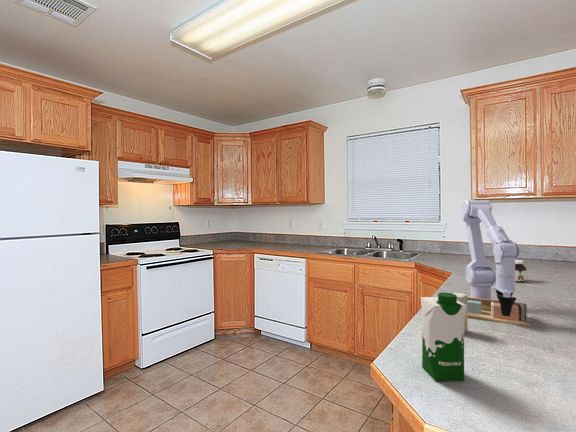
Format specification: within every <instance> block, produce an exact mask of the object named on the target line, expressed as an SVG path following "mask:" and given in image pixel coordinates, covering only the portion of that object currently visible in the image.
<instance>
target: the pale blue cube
mask: <svg viewBox="0 0 576 432" xmlns="http://www.w3.org/2000/svg"><path fill="white" fill-rule="evenodd" d="M467 310H468V313H473V314H480V315H481V301H474V300H467Z"/></svg>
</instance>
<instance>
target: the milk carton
mask: <svg viewBox="0 0 576 432" xmlns="http://www.w3.org/2000/svg"><path fill="white" fill-rule="evenodd" d="M420 302H421V303H420V304H421V312H422V313H421V314H422V320H421V321H422V322H421V324H422V327H421V328H422V329H421V331H422V332H421V334H422V337H421V338H422V342H421V343H422V345H421V346H422V349H421V350H422V351H421V352H422V355H421V359H422V360H421V363H422V364H421V367H422V369H424V371H425V372H426V373H427V374H428V376H430V377H431V378H432V379H433V381H435V382H461V381H463V382H465V333H464V320H465V314H466V308H467V305H465V304H463V303H461V302H459V301H458V300H457V296H456V295H455V294H451V292H439V293H437V296H424V297H422V296H420Z"/></svg>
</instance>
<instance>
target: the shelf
mask: <svg viewBox="0 0 576 432" xmlns="http://www.w3.org/2000/svg"><path fill="white" fill-rule="evenodd" d="M467 300H474V301H481V315H480V314H473V313H468V319H473V320H474V319H475V320H479V321H487V322H494V323H501V324H502V323H503V324H510V325H516V326H522V327H523V326H524V327H531V322H530V323H525V322H521V320H520V318H519V321H513V320H506V319H498V318H492V316H491V302H495V303H499V300H497V299H491V300H490V299H481V298H472V297H471V296H467ZM519 303H520V302H517V301H515V302H514V304H513V305H517V306H518V308H519ZM522 303H523V305H524V307H525V316H527V317H528V315H527V314H528V313H527V310H528V309H527V308H528V306H527V303H526V302H525V303H524V302H522Z"/></svg>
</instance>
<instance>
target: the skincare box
mask: <svg viewBox="0 0 576 432" xmlns="http://www.w3.org/2000/svg"><path fill="white" fill-rule="evenodd" d="M450 293H451V292H450ZM451 294H455V295H456V296H457V300H458V301H459V302H461V303H463V304H465V305H467V297H468V293H467V294H466V293H461V292H455V291H454V292H452V293H451ZM468 319H469V318H468V310H467V308H466V314H465V320H464V334H465V333H467V331H468V329H469V328H468V325H469V323H468Z"/></svg>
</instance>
